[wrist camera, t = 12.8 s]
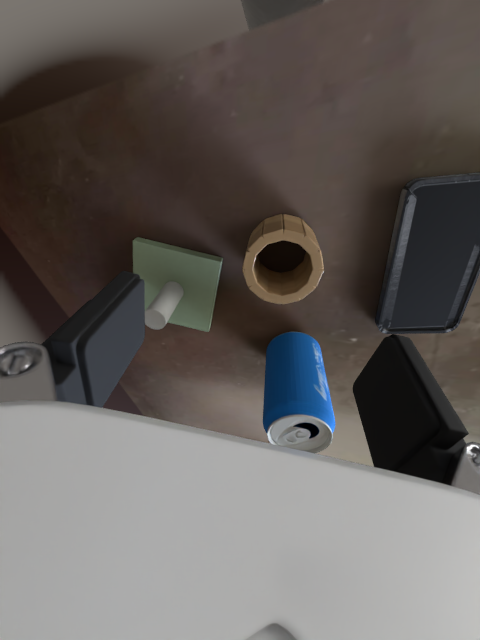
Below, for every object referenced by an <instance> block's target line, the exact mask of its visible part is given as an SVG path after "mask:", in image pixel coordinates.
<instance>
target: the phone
mask: <svg viewBox="0 0 480 640" xmlns="http://www.w3.org/2000/svg"><path fill="white" fill-rule="evenodd" d="M479 273H480V172H479V173H468V174H456V175H445V176H434V177H423V178H416V179H413V180H411V181H410V182H408V183H407V184H406V185H405V186H404V188H403V189H402V191H401V194H400V199H399V204H398V209H397V214H396V219H395V224H394V229H393V234H392V239H391V244H390V249H389V254H388V259H387V264H386V269H385V274H384V279H383V284H382V289H381V294H380V299H379V304H378V309H377V314H376V319H375V322H376V324H377V326H378V328H379V330H380V331H381V332H382V333H386V334H408V333H448V332H450V331H453V330H454V329H456V328H457V327H458V325H459V323H460V321H461V318H462V316H463V313H464V311H465V308H466V306H467V303H468V301H469V298H470V296H471V293H472V291H473V288H474V286H475V283H476V281H477V278H478V276H479Z"/></svg>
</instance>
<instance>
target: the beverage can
mask: <svg viewBox="0 0 480 640" xmlns="http://www.w3.org/2000/svg"><path fill="white" fill-rule="evenodd" d="M263 426H264V429H265V431H266V433H267V437H268V440H269V442H270V444H274V445H278V446H283V447H287V448H292V449H296V450H301V451H305V452H310V453H314V454H315V453H318V452H320V451H322V450H324V449H326V448H327V447H328V446H329V445H330V443H331V442H332V438H333V435H332V433H333V431H334V429H335V418H334V413H333V408H332V403H331V398H330V394H329V389H328V384H327V379H326V374H325V369H324V364H323V359H322V354H321V349H320V346H319V344H318V343H317V341H316V340H315V339H314V338H313V337H311V336H309V335H307V334H304V333H301V332H287V333H283V334H281V335H278V336H277V337H275V338H274V339H273V340H272V341H271V342H270V343H269V345H268V347H267V351H266V370H265V389H264V409H263Z"/></svg>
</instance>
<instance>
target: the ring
mask: <svg viewBox="0 0 480 640" xmlns="http://www.w3.org/2000/svg"><path fill="white" fill-rule="evenodd" d="M281 240H285V241H289V242H293V243H297V244H299V245H300V246H301V247H302V248H303V249H304V250H305V251H306V254H305V257H304V260H303V262H302V263H301V264H299V265H298V266H297V267H296V268H295V269H294V270H291V271H287V272H283V273H279V272H275V271H271V270H268V269H267V268H266V267H265V266H264V265H263V264H262V263H261V262H260V261H259V257H258V253H259V252H260V251H261V250H262V249H263V248H264V247H265V246H266V245H267V244H271V243H274V242H278V241H281ZM323 268H324V266H323V261H322V255H321V250H320V247H319V245H318V242H317V239H316V237H315V234H314V232H313V230H312V229H311V228H310V227H309V226H308V225H307V224H306V223H305V222H304V221H303V220H302V219H300V218H298V217H294V216H290V215H286V214H283V216H282V214H279V215H276V216H273V217H270V218H266V219H265V221H264V220H263V221H262V222H261V223H260V224H259V225H258V226H257V227H256V228H255V229H254V230H253V231H252V234H251V235H250V239H249V243H248V246H247V250H246V254H245V258H244V263H243V267H242V269H243V270H242V271H243V274H244V277H245V280H246V283H247V286H248V287H249V289H250V290H251V291H253V292H254V293H255V294H256V295H257V296H258V297H259V298H261V299H263V300H264V301H268V302H272V303H276V304H281V303H282V304H286V303H290V302H295V301H299V300H300V299H303V298H304V297H305V296H307V295H308V294H309V293H310V292H312V291H313V290H314V289H315V287H317V285H318V283H319V280H320V278H321V275H322V273H323ZM299 298H300V299H299Z"/></svg>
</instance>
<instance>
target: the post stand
mask: <svg viewBox="0 0 480 640" xmlns="http://www.w3.org/2000/svg"><path fill="white" fill-rule="evenodd" d="M222 261H223V258H222V257H218V256H213V255H209V254H205V253H201V252H197V251H193V250H189V249H185V248H181V247H177V246H172V245H168V244H164V243H160V242H156V241H152V240H148V239H144V238H140V237H137V238H136V239H134V240H133V273H135V274H139V275H140V279H143V280H144V283H145V324H146V325H147V326H148V327H150V328H152V329H161V328H163V327H164V326H165V325H166V323H167V322H169V323H173V324H177V325H181V326H185V327H190V328H194V329H198V330H202V331H207V332H209V329H210V326H211V321H212V316H213V310H214V305H215V299H216V294H217V288H218V283H219V277H220V272H221V266H222Z"/></svg>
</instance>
